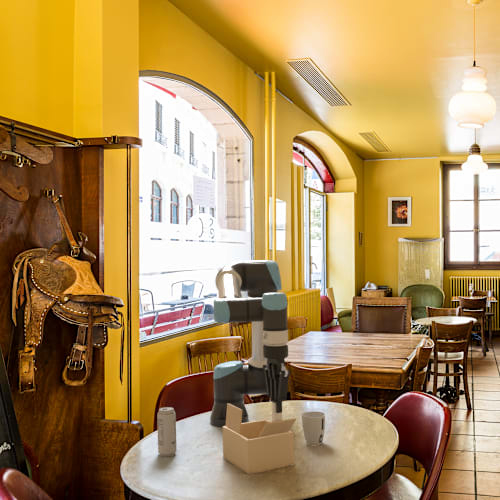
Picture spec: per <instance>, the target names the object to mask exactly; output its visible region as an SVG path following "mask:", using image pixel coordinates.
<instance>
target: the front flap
mask: <svg viewBox="0 0 500 500" xmlns="http://www.w3.org/2000/svg"><path fill="white" fill-rule="evenodd" d="M296 421H297V419H296V418H290V419H282V421H277V422H272V421H271V423H266V425H265V426H264V428H263V429H262V431H261V432H260V434H259V437H261V436H267V435H272V434H278V433H283V432H288V431H289V430H291V428H292V426H293V425H294V424H295V423H296Z"/></svg>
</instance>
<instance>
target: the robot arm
mask: <svg viewBox="0 0 500 500" xmlns="http://www.w3.org/2000/svg"><path fill="white" fill-rule="evenodd" d="M214 281H215V287H216V289H217V290H218V298H217V299H214V300H213V320H214V322H215V323H221V324H223V323H224V324H228V323H232V324H233V323H249V322H250V323H251V357H250V358H249V359H248V364H244V363H243V361H242V360H232V361H225V362H222V363H219V364H217V365H216V366H214V368H213V402H214V403H213V406H212V410H211V413H210V416H209V417H210V420H209V423H210V424H211V425H213V426H215V427H222V426H225V425H226V413H227V403H229V404H231V405H233V406H235V407H237V408H240V409H242V422H241V423H247V422H250V420H249V413H248V410H247V408H246V405H245V401H244V396H246V395H248V396H249V395H266V396H267V397H268V398H269V399H270V401H271V420H272V421H271V422H277V421H283V402H284V401H287V397H288V386H289V378H290V375H291V370H290V369H287V368H286V360H285V359H286V358H288V357H289V345H288V343H289V335H288V334H289V332H288V331H289V330H288V329H289V328H288V300H287V294H286V293H285V292H280V291H281V290H282V279H281V273H280V267H279V263H278V262H277V261H275V260H270V259H269V260H266V259H262V260H259V259H257V260H238V261H233V262H230V263H228V264H227V265H225V266H223V267H222V268H221V269H220V270H219V271H218V272H217V274H216V276H215V280H214ZM241 292H246V293H247V297H242V293H241Z"/></svg>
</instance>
